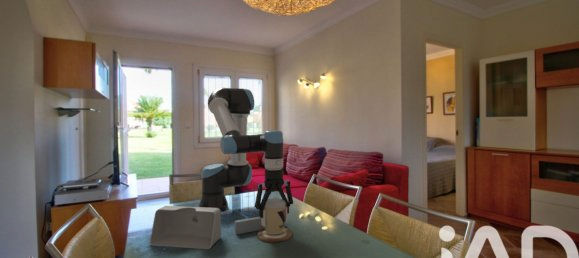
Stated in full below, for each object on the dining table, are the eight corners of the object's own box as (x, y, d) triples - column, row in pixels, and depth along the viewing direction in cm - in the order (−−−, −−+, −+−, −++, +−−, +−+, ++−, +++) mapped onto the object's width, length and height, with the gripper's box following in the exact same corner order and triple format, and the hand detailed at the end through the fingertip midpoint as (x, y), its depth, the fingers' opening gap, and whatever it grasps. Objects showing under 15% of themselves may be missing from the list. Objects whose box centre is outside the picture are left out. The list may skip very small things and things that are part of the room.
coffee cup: (283, 236, 107) (282, 205, 107) (260, 234, 109) (259, 204, 109) (288, 226, 116) (287, 198, 116) (266, 225, 118) (266, 197, 118)
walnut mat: (252, 232, 116) (252, 229, 116) (283, 226, 122) (283, 224, 122) (264, 245, 103) (264, 243, 103) (297, 238, 110) (297, 236, 109)
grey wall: (234, 232, 116) (234, 220, 116) (282, 223, 125) (282, 212, 125) (236, 234, 114) (235, 222, 114) (284, 225, 123) (284, 214, 123)
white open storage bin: (227, 232, 117) (227, 202, 116) (211, 249, 101) (210, 215, 101) (173, 229, 121) (172, 200, 120) (149, 245, 105) (148, 212, 104)
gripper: (251, 172, 104) (252, 231, 105) (301, 167, 113) (302, 221, 114) (245, 169, 111) (246, 224, 111) (293, 165, 120) (294, 216, 121)
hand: (274, 223), depth 113 cm, fingers closed on coffee cup, 9 cm apart
